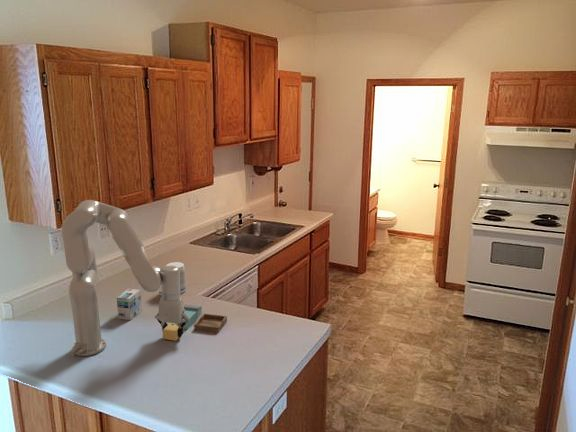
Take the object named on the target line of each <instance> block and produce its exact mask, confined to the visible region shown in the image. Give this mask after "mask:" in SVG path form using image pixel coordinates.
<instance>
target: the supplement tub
mask: <svg viewBox="0 0 576 432" xmlns="http://www.w3.org/2000/svg"><path fill="white" fill-rule="evenodd" d="M166 266H176V267H178V268H179V272H180V295H181V294H183V293H184V292H186V290H187V287H186V284H187V283H186V269H185V264H184V263H183V262H180V261H175V262H174V261H173V262H169V263H168V264H166V265H165V267H166Z"/></svg>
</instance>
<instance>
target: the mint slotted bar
mask: <svg viewBox="0 0 576 432" xmlns="http://www.w3.org/2000/svg"><path fill="white" fill-rule="evenodd" d="M202 308H203V307H202V305H198V304H197V305H196V304H184V312H185V315H186V316H187V317H188V318H189V319H190V321H189V322H188V323H187V324H185V325H184V326H183V330H189V329H190V328H191V326H193V325H194V324H195V323H196V322H197V321H198V320H199V318H200V317H201V316H202V315H203V309H202ZM182 320H183V322H184V321H185V320H184V319H182ZM174 324H176V323H174ZM176 325H178V324H176Z"/></svg>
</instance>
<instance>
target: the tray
mask: <svg viewBox="0 0 576 432" xmlns="http://www.w3.org/2000/svg"><path fill="white" fill-rule="evenodd" d="M227 322H228V316H227V315H221V314H220V315H218V314H209V313H202V314H201V315H200V316H199V318H198V319H197V320H196V321H195V322H194V323H193V330H194V331H200V332H208V333H216V334H219V333H220V331H221V330H222V329H223V327H224V326H225V324H227Z"/></svg>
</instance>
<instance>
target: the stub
mask: <svg viewBox="0 0 576 432" xmlns="http://www.w3.org/2000/svg"><path fill="white" fill-rule="evenodd" d="M178 328H179V327H178V325H176V324H175V323H168V326H167V327H166V328H165V329H163V332H162V339H163V340H169V341H175V342H176V341H177V340H179V338H180V337H178Z"/></svg>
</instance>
